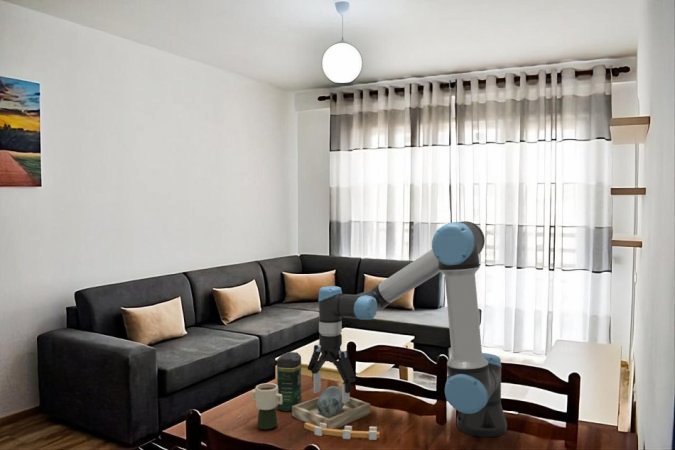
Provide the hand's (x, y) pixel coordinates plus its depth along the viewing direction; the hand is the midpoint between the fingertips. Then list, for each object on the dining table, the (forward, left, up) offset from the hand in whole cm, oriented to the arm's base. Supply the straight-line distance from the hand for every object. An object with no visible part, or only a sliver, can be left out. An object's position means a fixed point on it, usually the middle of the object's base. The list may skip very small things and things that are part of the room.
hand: (331, 397), depth 178 cm
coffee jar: (+16, +4, -6) cm, 18 cm away
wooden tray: (0, 0, -6) cm, 6 cm away
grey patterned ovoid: (0, 0, -6) cm, 6 cm away
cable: (-12, +7, -6) cm, 15 cm away
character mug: (+8, +20, -6) cm, 23 cm away
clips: (-14, +8, -6) cm, 17 cm away
